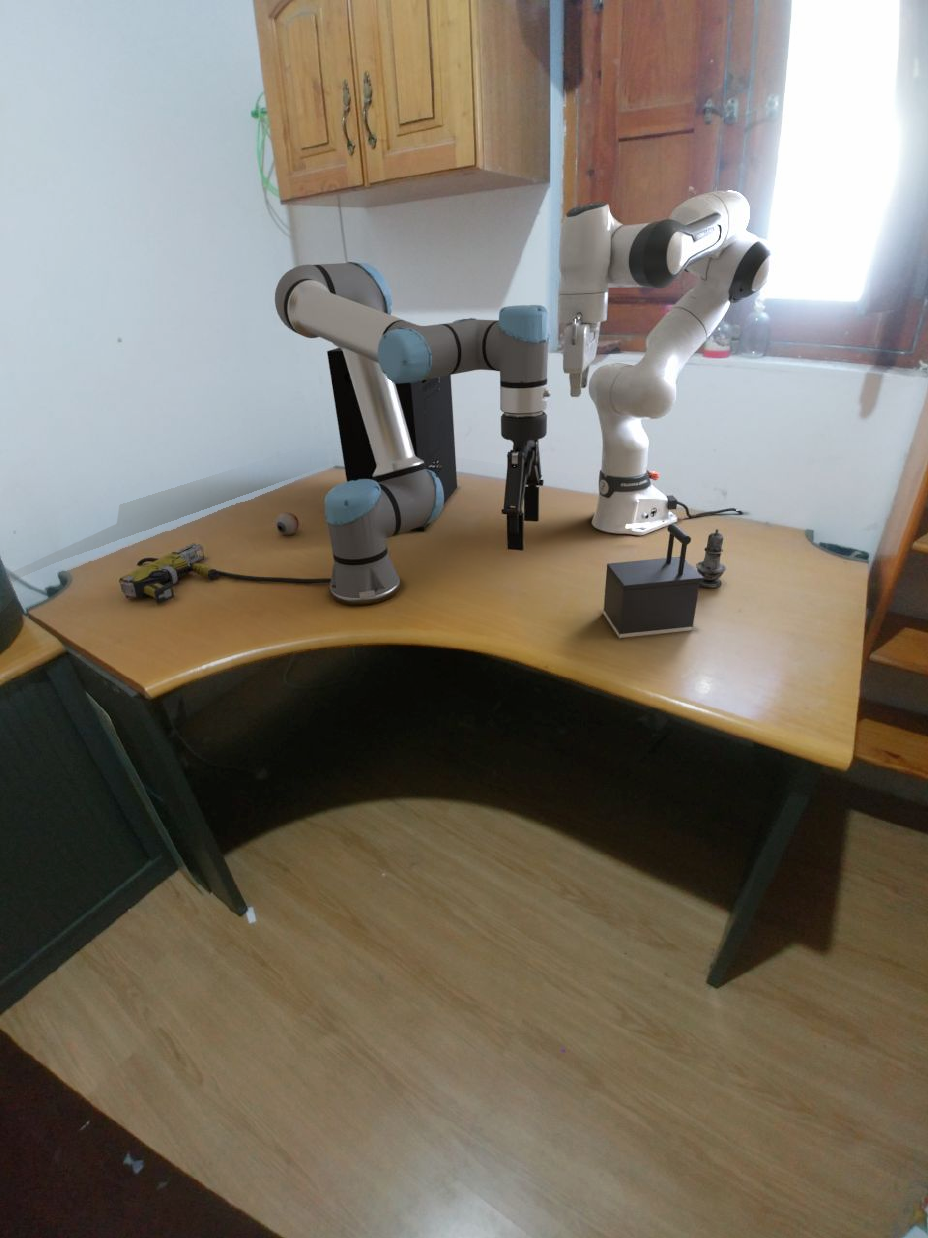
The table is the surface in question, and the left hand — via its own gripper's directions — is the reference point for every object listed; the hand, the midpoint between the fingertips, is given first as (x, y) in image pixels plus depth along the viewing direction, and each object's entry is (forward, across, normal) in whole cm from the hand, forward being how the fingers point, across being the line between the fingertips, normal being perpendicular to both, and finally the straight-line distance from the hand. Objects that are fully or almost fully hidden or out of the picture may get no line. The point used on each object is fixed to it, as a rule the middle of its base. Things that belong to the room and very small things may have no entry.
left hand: (523, 534), depth 109 cm
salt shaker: (+18, +24, -35) cm, 46 cm away
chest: (+18, +5, -23) cm, 30 cm away
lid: (+9, +5, -23) cm, 25 cm away
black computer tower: (+19, +60, +48) cm, 78 cm away
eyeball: (+19, +33, +72) cm, 82 cm away
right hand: (-20, +23, -6) cm, 32 cm away
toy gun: (+19, +2, +82) cm, 84 cm away
